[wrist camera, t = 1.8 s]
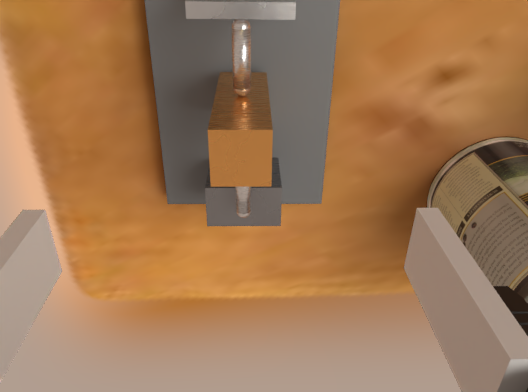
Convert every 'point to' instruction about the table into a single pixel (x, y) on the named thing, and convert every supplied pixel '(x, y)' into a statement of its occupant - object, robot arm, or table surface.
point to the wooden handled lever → (241, 101)
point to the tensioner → (262, 203)
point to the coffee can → (489, 207)
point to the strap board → (262, 60)
